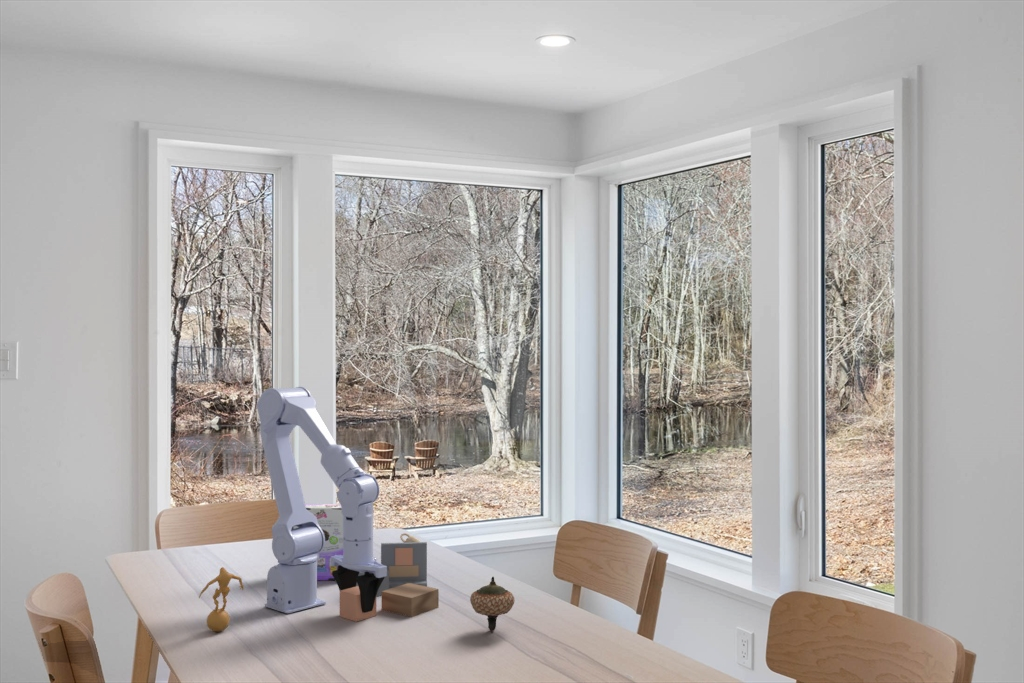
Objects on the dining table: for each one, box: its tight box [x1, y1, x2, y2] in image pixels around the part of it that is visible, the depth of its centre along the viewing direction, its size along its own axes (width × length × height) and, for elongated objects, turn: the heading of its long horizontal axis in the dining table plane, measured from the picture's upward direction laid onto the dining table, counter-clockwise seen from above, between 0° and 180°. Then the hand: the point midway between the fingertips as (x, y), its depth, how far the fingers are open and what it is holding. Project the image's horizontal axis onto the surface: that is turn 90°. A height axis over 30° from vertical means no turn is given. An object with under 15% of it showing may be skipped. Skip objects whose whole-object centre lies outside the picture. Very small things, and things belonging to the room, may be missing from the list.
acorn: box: [469, 576, 515, 632], centre depth 164 cm, size 8×8×10 cm
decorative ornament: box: [400, 532, 421, 543], centre depth 223 cm, size 4×8×5 cm, turn 32°
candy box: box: [292, 503, 343, 581], centre depth 203 cm, size 14×6×16 cm, turn 84°
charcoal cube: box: [356, 570, 390, 598], centre depth 189 cm, size 5×5×5 cm
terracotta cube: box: [339, 586, 377, 622], centre depth 173 cm, size 5×5×5 cm
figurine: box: [198, 567, 244, 633], centre depth 163 cm, size 8×6×12 cm
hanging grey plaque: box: [380, 541, 428, 589], centre depth 197 cm, size 6×10×9 cm, turn 97°
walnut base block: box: [381, 583, 440, 618], centre depth 178 cm, size 8×8×4 cm
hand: (358, 608), depth 173 cm, fingers closed on terracotta cube, 5 cm apart
